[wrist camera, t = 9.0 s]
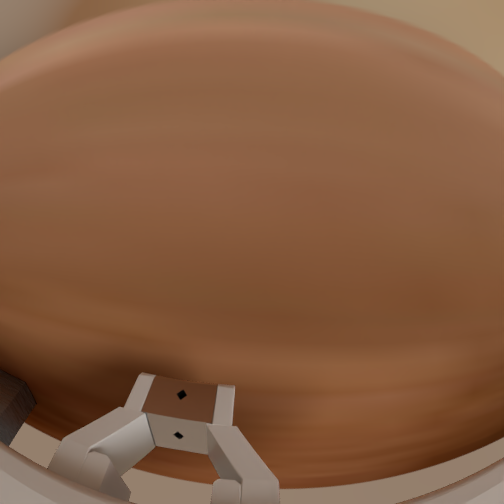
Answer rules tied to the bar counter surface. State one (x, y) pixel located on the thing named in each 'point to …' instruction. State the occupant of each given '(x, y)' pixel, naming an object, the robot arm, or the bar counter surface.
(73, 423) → the bar counter surface
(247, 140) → the bar counter surface
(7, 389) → the bridge
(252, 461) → the robot arm
